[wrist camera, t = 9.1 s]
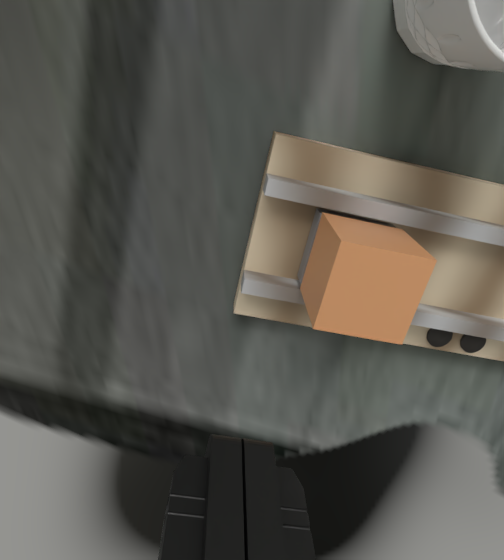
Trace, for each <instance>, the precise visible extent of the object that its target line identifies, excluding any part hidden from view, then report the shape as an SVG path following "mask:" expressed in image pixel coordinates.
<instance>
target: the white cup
mask: <svg viewBox="0 0 504 560" xmlns="http://www.w3.org/2000/svg"><path fill="white" fill-rule="evenodd" d="M393 6H394V14H395V22H396V30H397V32H398V33H399V35H400V36H401V38H402V39H403V41H404V42H405V44H406V46H407V47H408V49H409V50H410V52H411V53H413V54H414V55H416V56H418V57H420V58H422V59H424V60H426V61H428V62H430V63H432V64H437V65H449V66H453V67H457V68H464V69H474V70H481V71H492V72H504V0H393Z"/></svg>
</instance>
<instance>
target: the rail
mask: <svg viewBox="0 0 504 560" xmlns="http://www.w3.org/2000/svg"><path fill="white" fill-rule="evenodd" d="M316 208H318V209H323V210H328V211H332V212H337V213H342V214H346V215H351V216H356V217H361V218H365V219H370V220H375V221H379V222H384V223H389V224H393V225H394V226H395V227H396V228H398V229H403V230H404V231H405V232H406V233H407V234H408V235H409V236H410V237H412V238H413V239H414V240H415V241H416V242H417V243H418V244H419V245H420V246H422V247H423V248H424V249H425V250H426V251H427V252H428V253H429V254H431V255H432V256H433V257H434V258H435V259H436V260H437V262H436V264H435V267H434V269H433V272H432V274H431V276H430V279H429V281H428V283H427V286H426V288H425V291H424V293H423V295H422V298H421V300H420V303H419V305H418V307H417V310H416V312H415V315H414V317H413V319H412V322H411V324H410V327H409V329H408V331H407V334H406V336H405V339H404V341H403V344H409V345H414V346H420V347H426V348H431V349H437V350H443V351H448V352H454V353H459V354H465V355H471V356H476V357H482V358H487V359H493V360H499V361H504V185H503V184H499V183H494V182H490V181H486V180H481V179H477V178H473V177H468V176H464V175H460V174H456V173H451V172H447V171H443V170H438V169H434V168H430V167H426V166H421V165H417V164H413V163H408V162H404V161H400V160H395V159H391V158H387V157H383V156H378V155H374V154H370V153H365V152H361V151H357V150H353V149H348V148H344V147H340V146H335V145H331V144H327V143H322V142H318V141H314V140H310V139H305V138H301V137H297V136H292V135H288V134H284V133H280V132H275V131H274V132H273V136H272V141H271V145H270V149H269V153H268V158H267V162H266V166H265V171H264V175H263V179H262V183H261V188H260V192H259V196H258V201H257V205H256V209H255V214H254V218H253V222H252V226H251V231H250V235H249V239H248V244H247V248H246V252H245V256H244V261H243V265H242V269H241V274H240V278H239V282H238V286H237V291H236V295H235V299H234V313H235V314H241V315H246V316H252V317H257V318H263V319H269V320H274V321H280V322H285V323H291V324H297V325H302V326H308V327H312V324H311V321H310V318H309V315H308V312H307V309H306V306H305V303H304V299H303V296H302V293H301V290H300V287H301V283H300V282H299V279H298V276H297V274H298V271H299V267H300V264H301V260H302V257H303V253H304V250H305V247H306V243H307V240H308V236H309V233H310V229H311V226H312V222H313V219H314V215H315V212H316Z"/></svg>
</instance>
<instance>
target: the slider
mask: <svg viewBox="0 0 504 560" xmlns="http://www.w3.org/2000/svg"><path fill="white" fill-rule="evenodd" d="M436 262H437V260H436V259H435V258H434V257H433V256H432V255H431V254H429V253H428V252H427V251H426V250H425V249H424V248H423V247H422V246H420V245H419V244H418V243H417V242H416V241H415V240H414V239H413V238H412V237H410V236H409V235H408V234H407V233H406V232H405V231H404V230H403V229H398V228H396V227H395V226H394V225H393V224H389V223H384V222H379V221H375V220H370V219H365V218H361V217H356V216H351V215H346V214H342V213H337V212H332V211H328V210H323V209H318V208H316V212H315V215H314V219H313V222H312V226H311V229H310V233H309V236H308V240H307V243H306V247H305V250H304V253H303V257H302V260H301V264H300V267H299V271H298V274H297V276H298V279H299V282H300V283H301V287H300V290H301V293H302V296H303V299H304V303H305V306H306V309H307V312H308V315H309V318H310V321H311V324H312V327H313V329H316V330H321V331H327V332H332V333H338V334H344V335H349V336H355V337H361V338H366V339H372V340H377V341H383V342H389V343H394V344H400V345H402V343H403V341H404V339H405V336H406V334H407V331H408V329H409V327H410V324H411V322H412V319H413V317H414V315H415V312H416V310H417V307H418V305H419V303H420V300H421V298H422V295H423V293H424V291H425V288H426V286H427V283H428V281H429V279H430V276H431V274H432V272H433V269H434V267H435V264H436Z"/></svg>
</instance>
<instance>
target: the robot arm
mask: <svg viewBox="0 0 504 560" xmlns="http://www.w3.org/2000/svg"><path fill="white" fill-rule="evenodd" d="M158 560H316V558H315V552H314V546H313V540H312V535H311V532H310V523H309V518H308V514H307V506H306V500H305V495H304V489H303V487H302V485H301V483H300V482H299V480H298V478H297V477H296V475H295V473H294V472H293V470H292V469H291V468H284V467H276V462H275V453H274V446H273V443H272V442H265V441H258V440H251V439H244V438H242V440H241V438H235V437H228V436H221V435H214V434H211V435H210V437H209V441H208V445H207V449H206V453H205V457H200V456H193V455H185V456H184V457H183V459H182V460H181V462H180V463H179V465H178V466H177V468H176V469H175V471H174V473H173V478H172V483H171V488H170V493H169V497H168V502H167V507H166V513H165V517H164V524H163V530H162V537H161V544H160V550H159V557H158Z"/></svg>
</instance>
